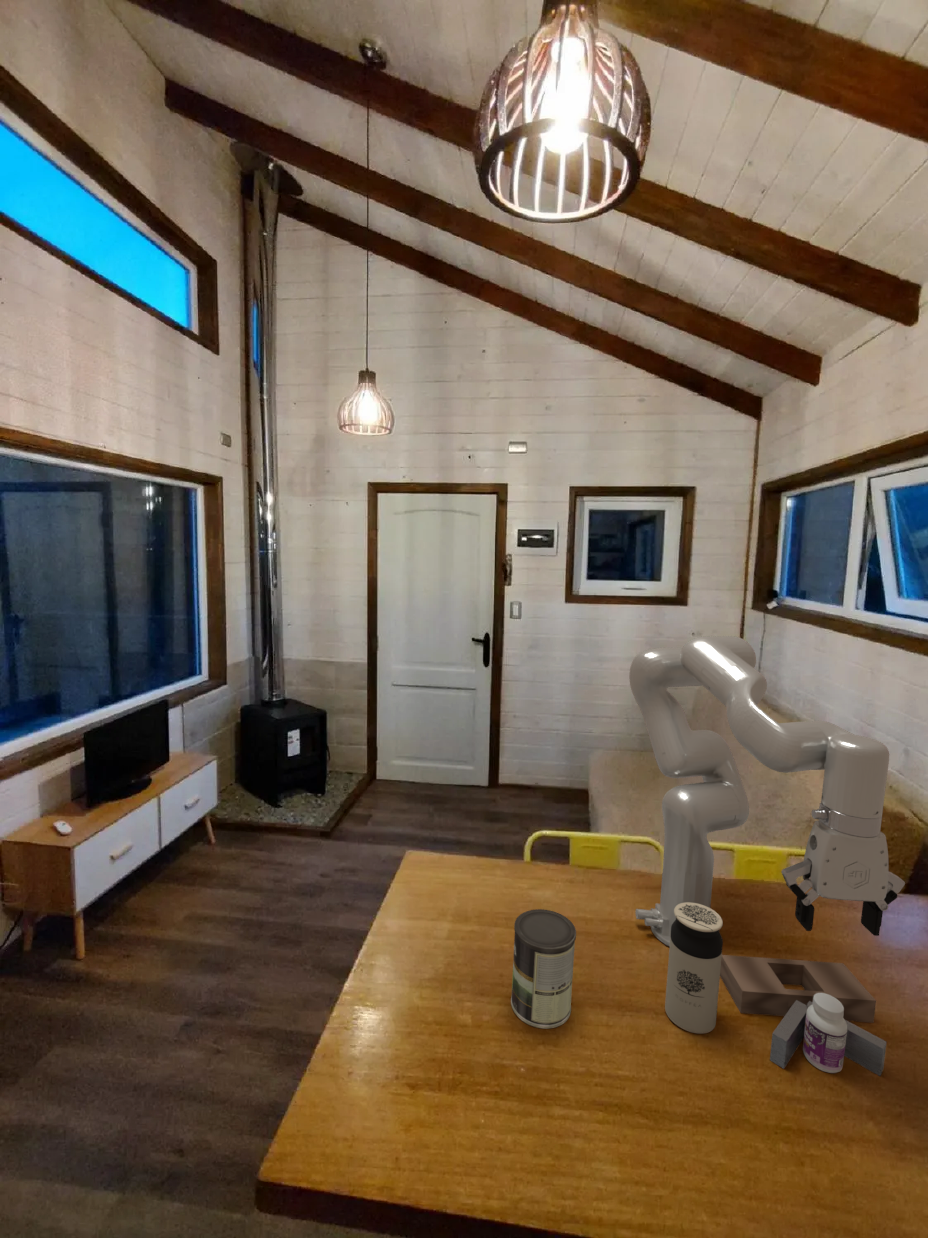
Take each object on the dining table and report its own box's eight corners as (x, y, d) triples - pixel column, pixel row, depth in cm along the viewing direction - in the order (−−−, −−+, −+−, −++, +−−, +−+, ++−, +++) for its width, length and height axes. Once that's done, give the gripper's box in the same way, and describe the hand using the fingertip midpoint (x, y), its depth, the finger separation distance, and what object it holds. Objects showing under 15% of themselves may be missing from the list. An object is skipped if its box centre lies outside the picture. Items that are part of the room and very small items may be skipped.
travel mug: (677, 991, 101) (685, 895, 99) (723, 1017, 95) (732, 916, 94) (656, 1014, 95) (664, 913, 94) (703, 1044, 90) (712, 937, 88)
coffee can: (501, 1014, 94) (505, 935, 93) (522, 975, 103) (526, 902, 102) (561, 1039, 90) (566, 956, 88) (578, 996, 99) (583, 920, 98)
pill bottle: (794, 1045, 90) (800, 989, 89) (825, 1044, 91) (831, 988, 90) (818, 1076, 85) (824, 1016, 84) (851, 1074, 85) (858, 1015, 84)
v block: (774, 1068, 86) (777, 1041, 85) (748, 1021, 95) (750, 996, 94) (889, 1077, 85) (893, 1049, 85) (852, 1029, 94) (855, 1004, 93)
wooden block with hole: (740, 1013, 96) (742, 991, 96) (719, 975, 105) (721, 955, 105) (873, 1022, 95) (876, 1000, 95) (840, 983, 104) (843, 963, 104)
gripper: (803, 827, 81) (791, 940, 82) (929, 835, 80) (913, 948, 82) (777, 805, 88) (766, 908, 90) (891, 812, 87) (878, 916, 89)
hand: (836, 927), depth 86 cm, fingers open, 9 cm apart
